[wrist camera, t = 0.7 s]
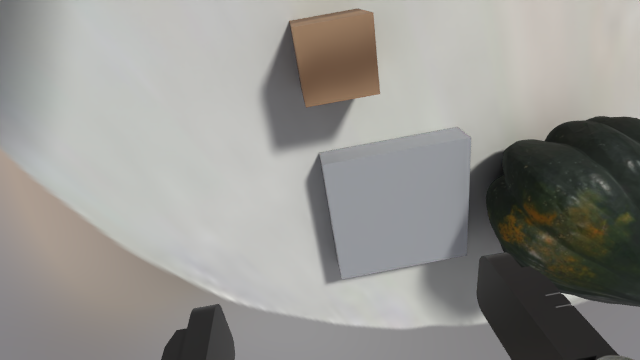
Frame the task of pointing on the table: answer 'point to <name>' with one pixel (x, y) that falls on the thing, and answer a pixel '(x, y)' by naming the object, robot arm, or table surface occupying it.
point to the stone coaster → (399, 201)
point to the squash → (575, 208)
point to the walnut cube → (336, 56)
